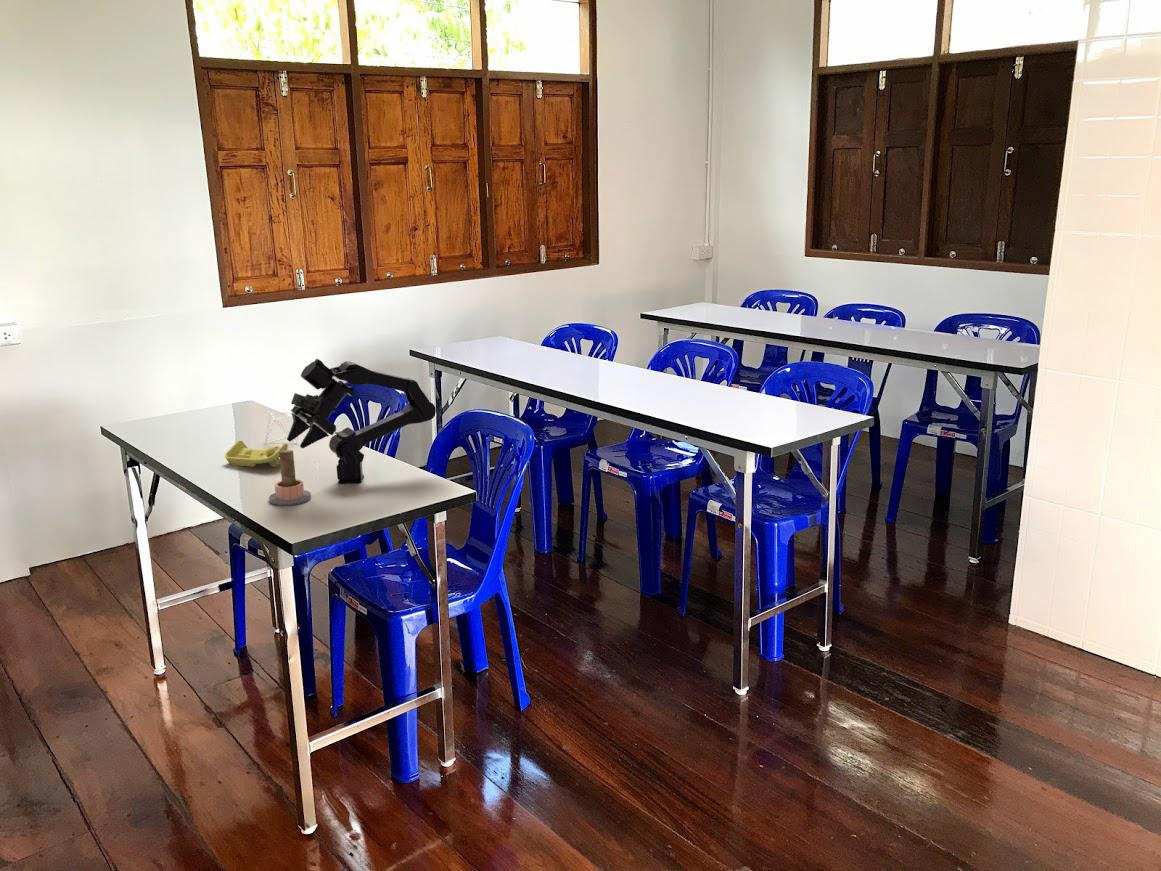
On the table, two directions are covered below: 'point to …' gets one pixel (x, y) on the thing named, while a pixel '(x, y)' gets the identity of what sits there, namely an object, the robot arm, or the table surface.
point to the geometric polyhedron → (280, 426)
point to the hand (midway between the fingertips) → (294, 444)
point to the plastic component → (253, 455)
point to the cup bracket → (289, 494)
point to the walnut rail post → (287, 468)
